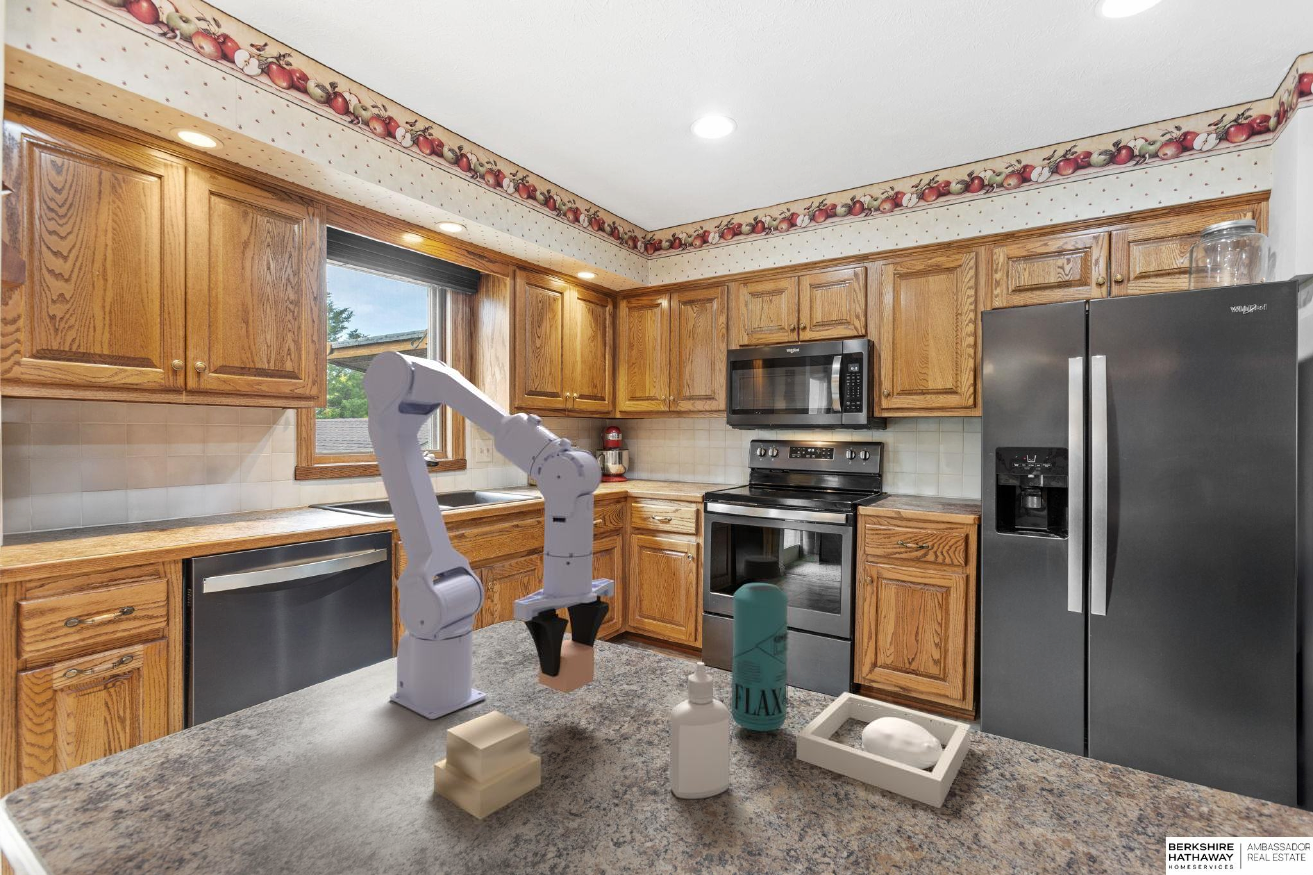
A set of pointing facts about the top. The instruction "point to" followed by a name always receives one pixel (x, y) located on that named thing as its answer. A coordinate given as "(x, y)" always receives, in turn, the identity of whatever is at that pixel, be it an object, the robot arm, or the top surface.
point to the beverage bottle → (759, 649)
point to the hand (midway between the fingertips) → (565, 667)
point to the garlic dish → (879, 769)
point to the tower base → (486, 786)
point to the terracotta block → (571, 668)
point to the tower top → (487, 745)
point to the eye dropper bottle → (699, 741)
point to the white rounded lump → (901, 742)
